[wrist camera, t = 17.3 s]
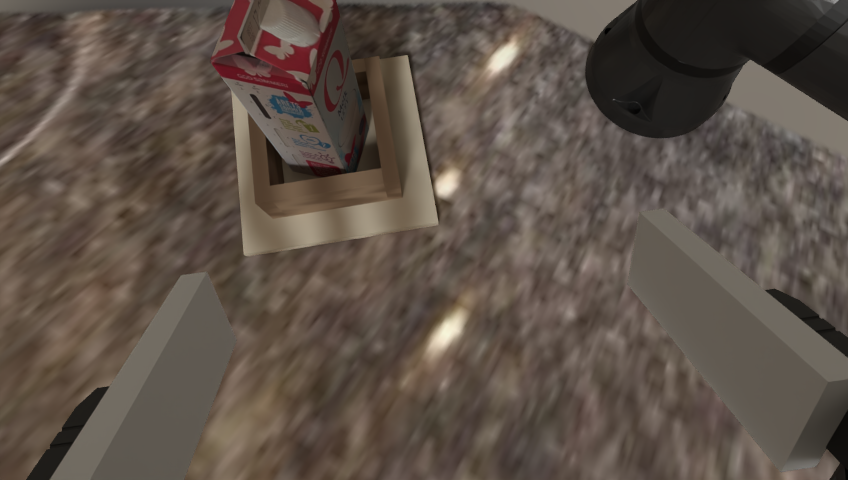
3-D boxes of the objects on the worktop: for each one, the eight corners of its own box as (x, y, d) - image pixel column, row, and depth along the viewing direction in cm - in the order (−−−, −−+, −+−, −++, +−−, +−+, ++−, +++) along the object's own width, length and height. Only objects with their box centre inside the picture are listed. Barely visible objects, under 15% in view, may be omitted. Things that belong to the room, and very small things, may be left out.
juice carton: (369, 128, 49) (324, -46, 27) (352, 184, 47) (291, 47, 26) (310, 115, 49) (220, -66, 28) (292, 171, 47) (182, 24, 26)
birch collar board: (407, 60, 52) (405, 23, 46) (438, 225, 47) (439, 207, 41) (234, 86, 51) (209, 52, 45) (247, 256, 46) (222, 243, 40)
